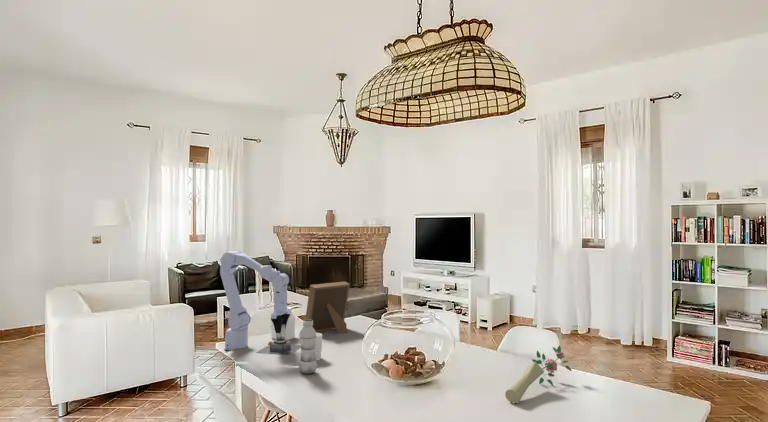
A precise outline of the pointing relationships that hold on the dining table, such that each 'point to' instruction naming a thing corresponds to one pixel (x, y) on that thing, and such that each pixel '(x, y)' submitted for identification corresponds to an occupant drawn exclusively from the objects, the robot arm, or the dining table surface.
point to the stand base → (280, 348)
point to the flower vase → (534, 375)
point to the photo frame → (328, 306)
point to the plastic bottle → (307, 348)
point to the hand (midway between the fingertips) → (280, 331)
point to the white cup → (318, 346)
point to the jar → (289, 327)
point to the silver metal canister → (281, 335)
